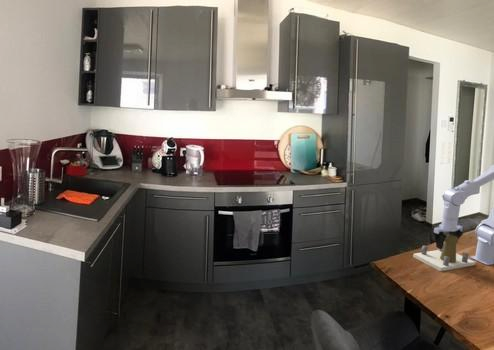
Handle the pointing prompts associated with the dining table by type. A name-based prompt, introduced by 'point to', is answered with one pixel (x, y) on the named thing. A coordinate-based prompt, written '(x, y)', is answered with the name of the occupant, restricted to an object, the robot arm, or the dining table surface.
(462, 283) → the dining table surface
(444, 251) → the olive rounded cylinder
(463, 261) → the peg board
